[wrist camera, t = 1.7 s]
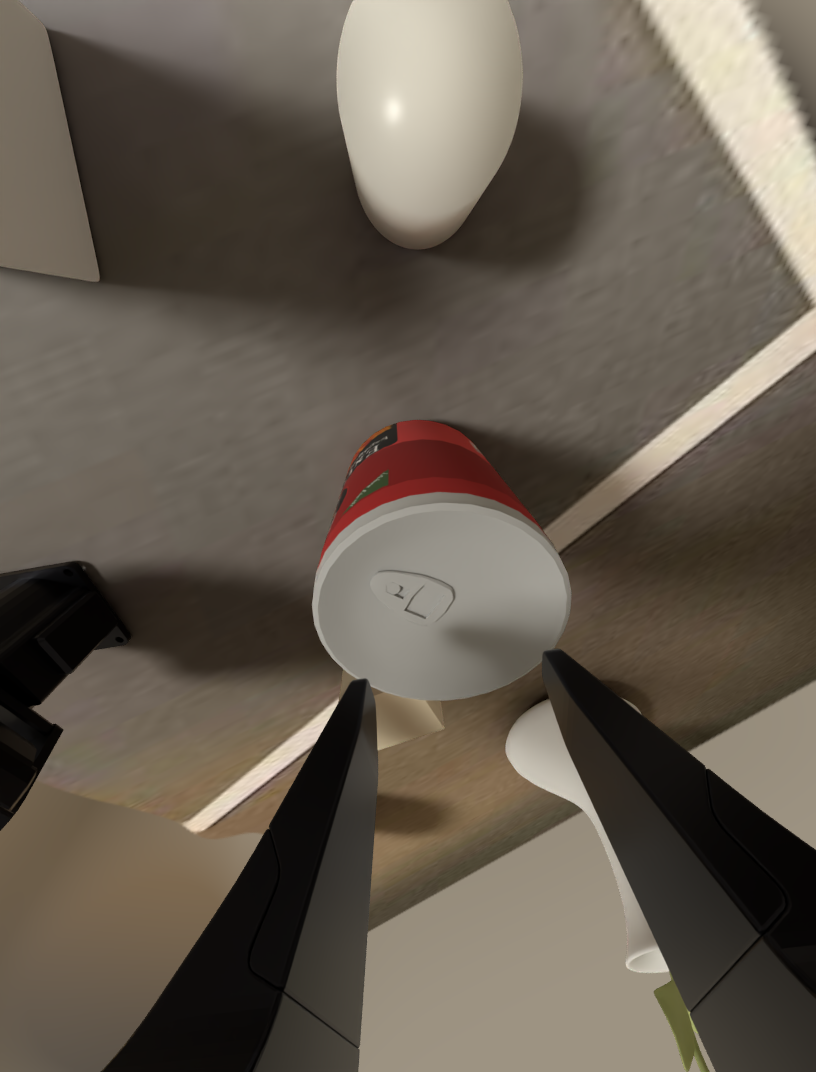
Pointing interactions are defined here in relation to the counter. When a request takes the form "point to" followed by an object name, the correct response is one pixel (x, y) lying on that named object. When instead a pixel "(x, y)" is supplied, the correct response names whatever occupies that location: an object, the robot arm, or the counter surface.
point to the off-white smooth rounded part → (427, 109)
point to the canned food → (435, 570)
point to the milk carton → (37, 158)
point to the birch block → (401, 716)
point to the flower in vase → (551, 768)
